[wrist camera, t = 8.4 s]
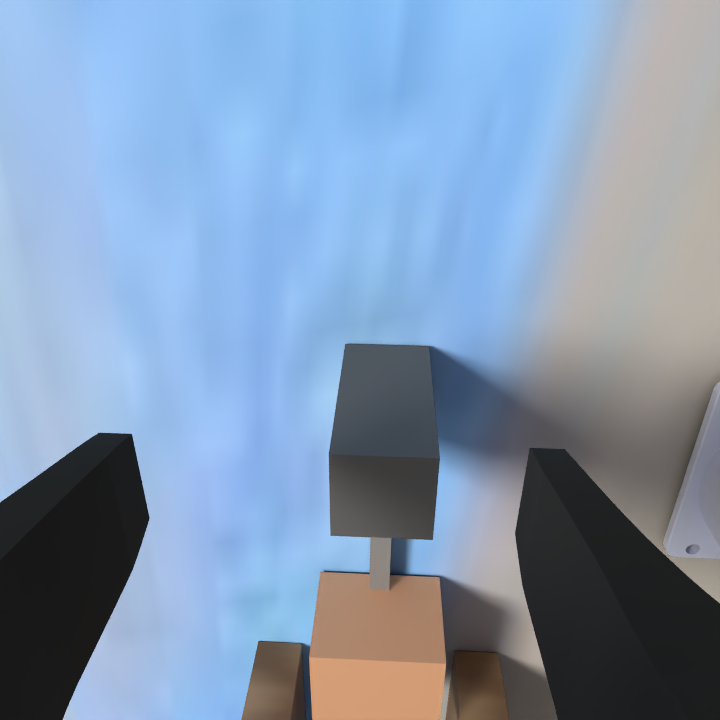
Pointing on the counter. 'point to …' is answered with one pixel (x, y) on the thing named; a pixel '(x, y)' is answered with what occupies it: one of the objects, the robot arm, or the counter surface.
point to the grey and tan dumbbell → (381, 545)
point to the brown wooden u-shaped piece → (287, 698)
